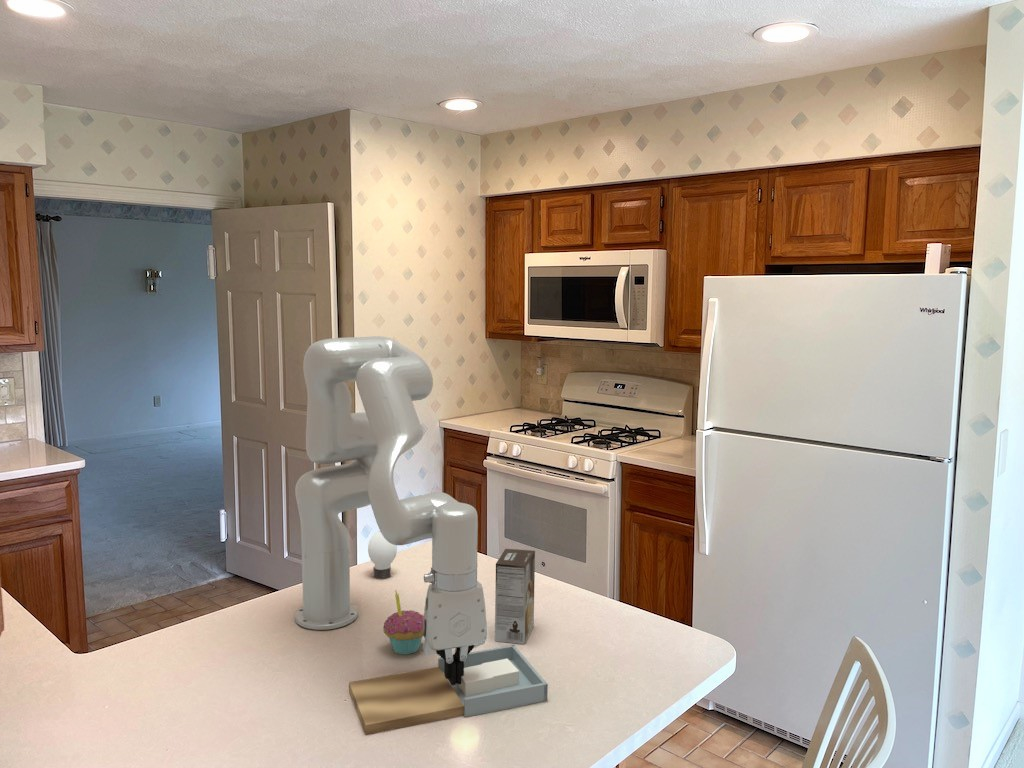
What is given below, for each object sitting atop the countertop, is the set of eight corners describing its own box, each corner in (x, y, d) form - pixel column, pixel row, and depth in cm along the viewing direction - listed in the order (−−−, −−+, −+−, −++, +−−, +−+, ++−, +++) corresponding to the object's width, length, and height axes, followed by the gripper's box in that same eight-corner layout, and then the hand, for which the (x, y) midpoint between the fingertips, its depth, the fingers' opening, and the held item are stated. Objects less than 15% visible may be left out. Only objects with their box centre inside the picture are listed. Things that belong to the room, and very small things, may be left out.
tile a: (455, 682, 138) (455, 669, 138) (482, 677, 140) (482, 664, 140) (465, 696, 134) (465, 683, 133) (493, 690, 136) (493, 677, 135)
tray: (438, 673, 142) (438, 657, 142) (513, 660, 148) (513, 644, 147) (464, 717, 128) (465, 699, 128) (547, 700, 134) (547, 684, 133)
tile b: (481, 676, 140) (481, 663, 140) (507, 671, 142) (507, 658, 142) (492, 689, 136) (492, 676, 136) (518, 684, 138) (519, 671, 138)
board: (349, 691, 136) (349, 682, 135) (439, 675, 142) (439, 666, 141) (365, 734, 123) (365, 725, 123) (463, 715, 129) (463, 706, 128)
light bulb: (364, 580, 185) (363, 534, 184) (373, 569, 192) (373, 525, 190) (391, 582, 184) (391, 536, 183) (400, 571, 191) (400, 527, 189)
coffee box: (503, 622, 164) (505, 547, 162) (534, 625, 163) (536, 549, 160) (493, 641, 155) (495, 562, 153) (526, 645, 154) (527, 565, 151)
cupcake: (391, 662, 146) (391, 600, 144) (377, 643, 153) (377, 584, 152) (435, 653, 150) (435, 592, 148) (419, 635, 157) (419, 577, 156)
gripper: (416, 591, 126) (416, 699, 129) (504, 580, 132) (502, 683, 134) (405, 575, 133) (405, 678, 136) (489, 564, 139) (487, 663, 141)
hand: (454, 680), depth 135 cm, fingers closed
